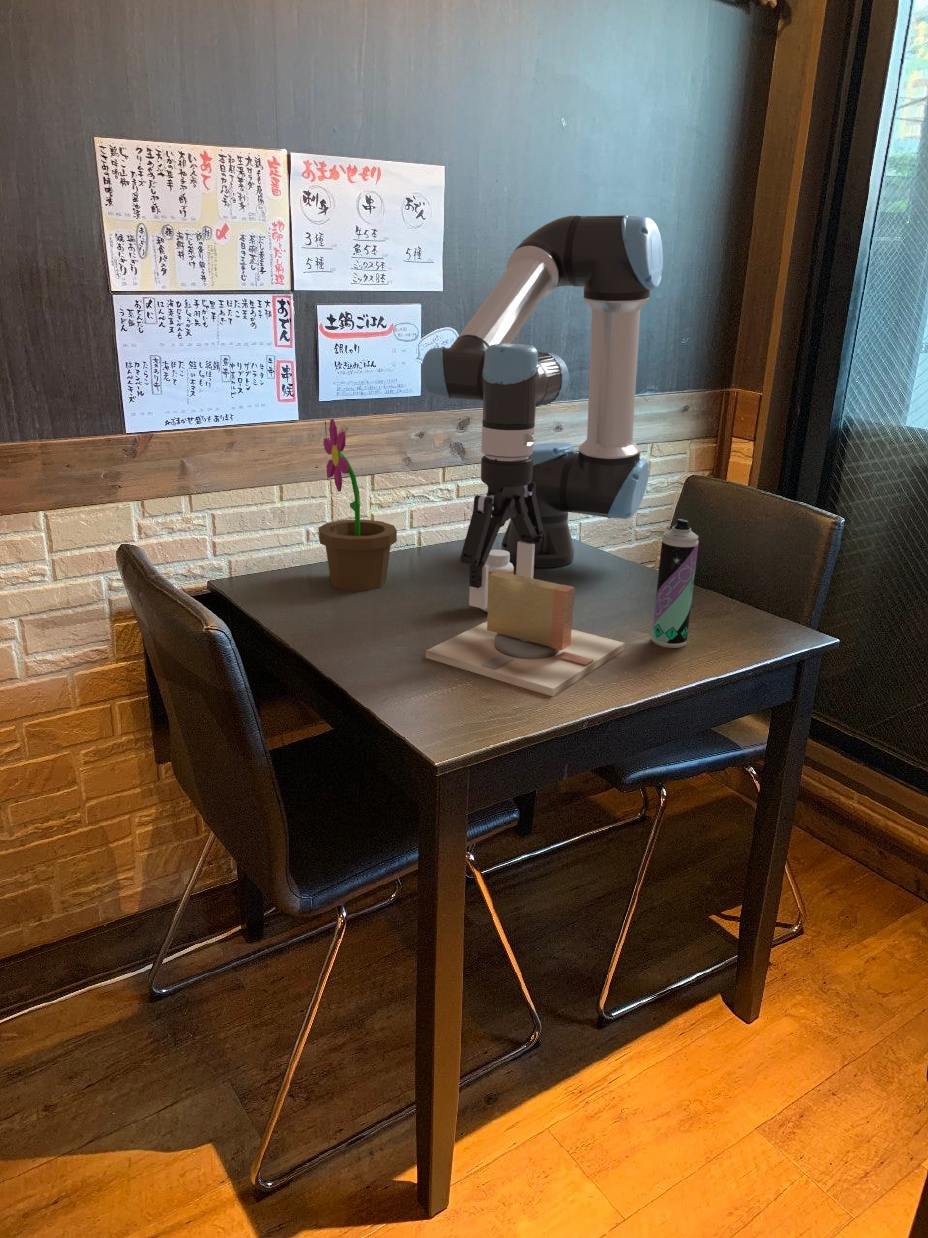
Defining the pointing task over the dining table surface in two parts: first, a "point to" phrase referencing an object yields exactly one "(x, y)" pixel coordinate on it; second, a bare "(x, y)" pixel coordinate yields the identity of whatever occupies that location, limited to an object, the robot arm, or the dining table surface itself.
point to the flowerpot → (354, 533)
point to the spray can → (675, 586)
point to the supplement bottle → (498, 564)
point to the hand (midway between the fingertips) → (502, 594)
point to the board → (525, 658)
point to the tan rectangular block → (530, 609)
